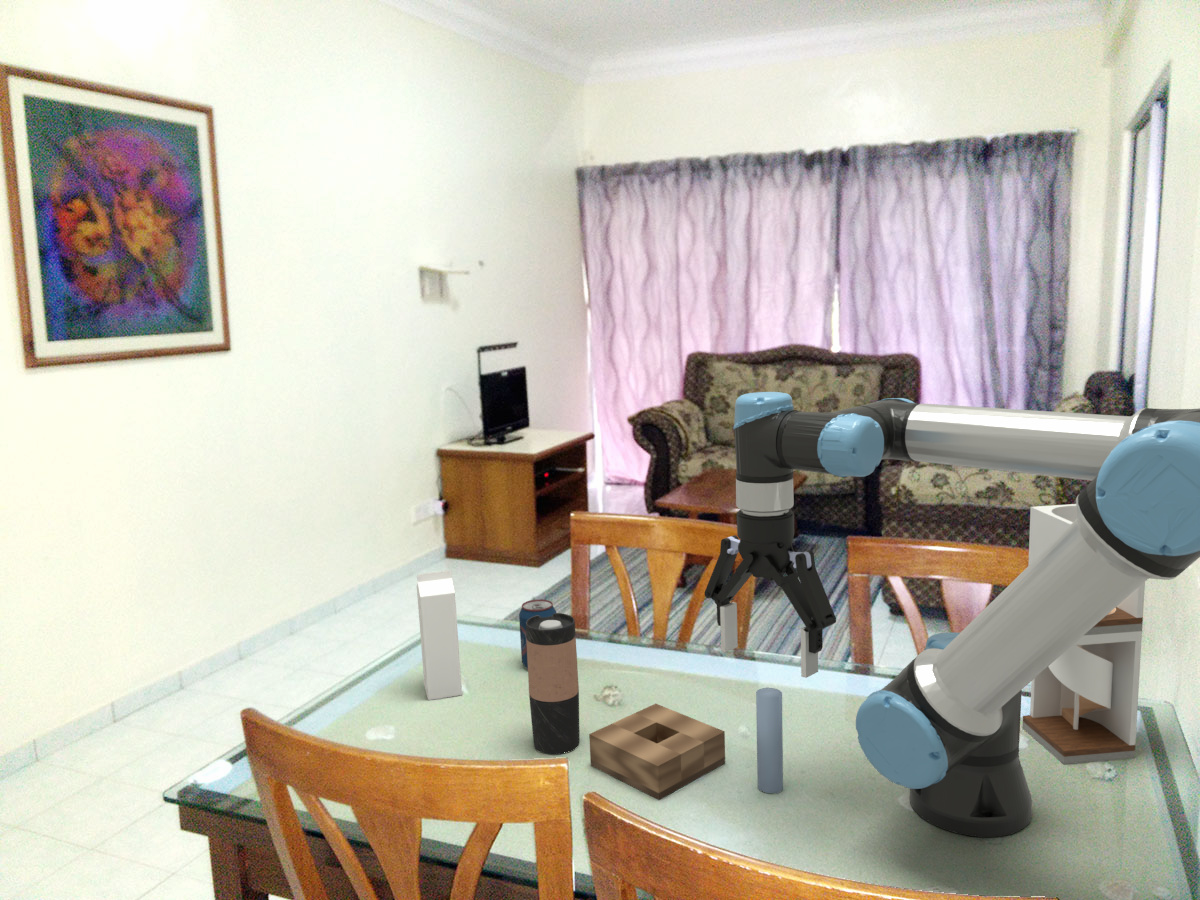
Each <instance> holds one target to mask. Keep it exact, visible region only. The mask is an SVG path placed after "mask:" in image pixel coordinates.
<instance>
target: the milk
mask: <svg viewBox="0 0 1200 900" xmlns="http://www.w3.org/2000/svg"><path fill="white" fill-rule="evenodd" d="M416 579H417V580H416V581H417V583H416V584H417V585H416V594H417V596H416V597H417V605H418V606H417V609H418V619H419V620H418V621H419V633H420V644H421V646H420V647H421V657H422V659H421V661H422V670H423V671H422V673H423V683H424V689H425V693H426V694H425V695H426V697H427V700H428V701H434V700H439V699H446V698H447V697H448V698H453V697H452V696H454V697H459V696H458V695H460V696H463V688H462V675H461V673H462V672H461V659H460V658H461V657H460V646H459V645H460V643H459V631H458V617H457V602H456V591H455V587H454V581H453V572H452V570H450V569H448V570H438V571H430V572H429V571H428V572H422V573H418V574H417V576H416Z"/></svg>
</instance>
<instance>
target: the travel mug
mask: <svg viewBox="0 0 1200 900" xmlns="http://www.w3.org/2000/svg"><path fill="white" fill-rule="evenodd" d="M575 621H576V620H575V618H574V617H573V616H571V615H570V614H566V613H561V612H556V613H554V614H553V615H552V616H549V617H540V616H539V615H536V616H533V617H531V618H529V619H528V620H527V622H526V639H527V661H528V669H527V677H528V682H527V683H528V697H529V707H530V708H529V710H530V718H531V730H532V740H533V747H534V749H535V750H536V751H537V752H539V753H541V754H545V755H563V754H567V753H569V752H568V751H570V752H572V751H574V750H575V748H576V747H577V746H579V745H580V688H579V687H580V686H579V672H578V671H579V670H578V669H579V668H578V655H577V654H578V653H577V651H578V650H577V638H576V622H575ZM577 748H578V747H577ZM577 748H576V749H577ZM573 749H574V750H573ZM571 750H572V751H571ZM564 752H565V753H564ZM566 752H567V753H566Z"/></svg>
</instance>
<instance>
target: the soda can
mask: <svg viewBox="0 0 1200 900" xmlns="http://www.w3.org/2000/svg"><path fill="white" fill-rule="evenodd" d="M554 613H557V610H556V608H555V607H554V603H553V601H551V600H548V599H531V600H527V601H525V602H523V603H522V604H521V609H520V611H519V613H518V617H519V635H520V636H519V637H520V651H521V653H520V656H521V663H522V664H523V665H524V667H525V669H527V670H528V661H527V639H526V622H527V620H528V619H529V618H531V617H533V616H536V615H539V616H540V617H549V616H552V615H553V614H554Z"/></svg>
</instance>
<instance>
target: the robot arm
mask: <svg viewBox="0 0 1200 900" xmlns="http://www.w3.org/2000/svg"><path fill="white" fill-rule="evenodd" d="M794 408H795V407H794V405H793V398H792V396H791V395H790V394H789V393H787V392H782V391H779V392H778V391H758V392H748V393H745V394H741V395H739V396H738V397H737V398H736V400H735V404H734V423H733V424H734V425H733V433H734V434H733V435H734V446H735V447H734V448H735V450H734V451H735V463H736V465H735V466H736V471H735V498H736V499H735V506H736V508H738V512H736V534H737V535H731V536H728V537H725V538H722V539H721V540H720V552H719V555H718V558H717V560H716V563H715V565H714V568H713V570H712V573H711V575H710V577H709V580H708V583H707V585H706V587H705V590H704V596H705V597H706V599H711V600H713V601H714V603H715V605H716V622H717V625H718V626H719V627H720V646H721V647H720V648H721V652H723V653H727V652H730V651H732V650H735V649H737V648H738V647H739V646H738V645H739V644H738V643H739V641H738V606H737V605H738V603H737V602H734V600H735V598H734V597H735V596H736V595H737V594H738V593H739V591H740V590H741V589H742V587H743V586H745V584H746V582H748V580H749V579H750V577H753V578H762V579H763V578H764V580H768V581H774V583H775V584H776V586H778V587H780V588H781V589H782V591H783V592H784V594H785V596H786V597H787V598H788V599H787V600H789V602H790V604H791V605H792V606H793V608H794V610H795V612H796V613H797V615H798V616H799V618H800V620H801V622H802V623H803V625H804V627H802V628H800V674H801V677H802V678H805V679H807V678H809V677H810V676H812V675H815V674H816V673H819V652H821V651H822V650H823V629H826V628H828V627H830V626H832V625H834V624H836V622H837V618H836V615H835V613H834V612H835V611H834V610H833V607H832V605H831V603H830V600H829V598H828V596H827V593H826V589H825V588H824V585H823V582H822V581H821V578H820V575H819V574H818V571H817V568H816V562H815V561H816V560H815V553H814V551H812V550H810V549H809V550H805V551H802V552H801V551H795V550H794V547H793V540H794V536H795V513H794V511H793V510H792V508H793V507H794V504H795V503H794V501H795V500H794V499H795V498H794V496H795V495H794V470H795V471H797V470H798V471H803V472H810V473H816V474H817V473H818V474H824V475H825V474H826V475H833V476H837V477H840V478H846V477H858V478H859V477H860V478H861V477H863V478H864V477H867V476H869V475H871V474H872V473H874V472H875V469H876V468H877V467H879V465H880V463H881V461H882V460H886V459H887V460H897V461H898V460H899V461H909V462H920V463H921V462H922V463H929V464H930V463H931V464H936V465H937V464H939V465H947V466H957V467H966V468H973V469H975V468H976V469H984V470H992V471H993V470H995V471H999V472H1000V471H1001V472H1002V471H1003V472H1012V473H1018V474H1019V473H1020V474H1028V475H1038V476H1045V477H1046V476H1048V477H1056V478H1063V479H1064V478H1065V479H1073V480H1083V481H1090V482H1089V483H1088V484H1087V486H1085V487H1084V488H1083V489H1082V491H1081V492H1079V494H1078V495H1077V496H1076V499H1075V504H1076V508H1077V515H1078V518H1077V519H1076V520H1075V521H1074V522H1073V523H1072V524H1071V525H1070V526H1069V527H1068V528H1067V529H1066V530H1065V531H1064V532H1063V533H1062V534H1061V535H1060V536H1059V537H1058V538H1057V539H1056V540H1055V541H1053V542H1052V543H1051V544H1050V545H1049V546H1048V547H1047V548H1046V549H1045V550H1044V551H1043V552H1042V553H1041V554H1040V555H1039V556H1038V557H1037V558H1036V559H1035V560H1034V561H1033V562H1032V563H1031V564H1030V565H1029V566H1027V567H1026V568H1025V569H1024V570H1022V572H1021V573H1020V574H1019V575H1018V576H1017V577H1015V579H1013V581H1011V583H1010V584H1009V585H1008V586H1007V587H1005V588H1004V589H1003V590H1002V591H1001V592H1000V593H999V594H998V595H997V596H996V597H995V598H994V599H993V600H992V601H991V602H990V603H989V604H988V605H987V606H986V607H985V608H984V609H983V610H982V611H981V612H980V613H979V614H978V615H977V616H976V617H974V619H973V620H972V621H971V622H970V623H969V624H968V625H967V626H965V628H964V629H962V630H961V631H960V632H954V631H953V632H941V633H940V632H939V633H936V634H932V635H930V636H928V638H927V639H926V642H925V647H924V648H923V649H924V650H922V651H921V652H920V653H918V655H916V657H915V658H914V659H912V660H911V661H910V662H909V663H908V664H907V665H906V666H905V667H904V668H903V669H902V670H901V671H900V672H899V673H898V674H897V676H895V677H894V678H893V679H892V680H891V681H890V682H889V683H888V684H887V685H885V686H884V687H883V688H882V689H880V690H876V691H874V692H872V693H870V694H869V695H868V696H867V698H866V699H865V700H864V701H863V702H862V703H861V704H860V706H859V707H858V710H857V713H856V716H855V730H856V732H857V740H858V744H859V745H860V748H861V750H862V753H863V754H864V756H865V758H866V759H867V761H868V762H869V763H870V764H871V766H872V767H873V768H874V769H875V770H876V771H877V772H878V773H879V774H880V775H881V776H883V777H884V778H885V779H887V780H888V781H889V782H891V783H893V784H894V785H895V784H896V785H897V786H898V785H899V786H902V787H904V788H906V789H909V802H910V805H911V808H912V809H913V810H914V812H915V813H916V814H917V815H918V816H920V817H921V818H922V819H923V820H925V821H926V822H928V823H930V824H932V825H934V826H936V827H938V828H940V829H943V830H946V831H949V832H951V833H955V834H959V835H963V836H970V837H978V838H980V837H981V838H993V837H994V838H995V837H996V838H997V837H1004V836H1008V835H1012V834H1016V833H1017V832H1020V831H1022V830H1023V829H1025V828H1026V827H1027V826H1028V825H1029V824H1030V822H1031V820H1032V815H1033V814H1032V812H1033V810H1032V804H1033V799H1032V795H1031V791H1030V788H1029V785H1028V782H1027V779H1026V775H1025V772H1024V770H1023V766H1022V764H1021V763H1022V762H1021V761H1020V737H1021V735H1020V734H1021V714H1022V712H1021V710H1022V690H1023V689H1024V688H1025V687H1027V686H1028V685H1029V684H1031V681H1032V680H1033V679H1034V678H1035V677H1036V676H1038V675H1039V674H1040V673H1041V672H1042V671H1043V670H1044V669H1046V668H1047V667H1048V666H1049V665H1050V664H1051V663H1052V662H1054V661H1055V660H1056V659H1057V658H1058V657H1059V656H1060V655H1062V654H1063V653H1064V652H1065V651H1066V650H1067V649H1068V648H1070V647H1071V646H1072V645H1073V644H1074V643H1075V642H1076V641H1078V640H1079V639H1080V638H1081V637H1082V636H1083V635H1084V634H1086V633H1087V632H1088V631H1089V630H1090V629H1091V628H1092V627H1094V626H1095V625H1096V624H1097V623H1098V622H1099V621H1100V620H1102V619H1103V618H1104V617H1105V616H1106V615H1107V614H1108V613H1110V612H1111V611H1112V610H1113V609H1114V608H1115V607H1116V606H1118V605H1119V604H1120V603H1121V602H1122V601H1123V600H1124V599H1126V598H1127V597H1128V596H1129V595H1130V594H1131V593H1133V592H1134V591H1135V590H1136V589H1137V588H1138V587H1139V586H1141V585H1142V584H1143V583H1144V582H1145V583H1146V581H1148V580H1149V579H1152V580H1162V581H1165V580H1166V581H1167V580H1168V581H1169V580H1173V579H1175V578H1177V577H1178V576H1179V575H1181V574H1182V573H1183V572H1184V571H1185V570H1186V569H1188V568H1189V567H1190V566H1191V565H1192V564H1194V563H1195V562H1196V561H1197V560H1198V559H1200V408H1199V407H1198V408H1173V409H1172V408H1171V409H1170V408H1149V407H1146V408H1145V407H1143V408H1140V409H1139V410H1138V411H1136V412H1135V413H1134V414H1133V415H1130V416H1127V415H1112V414H1111V415H1109V414H1098V413H1097V414H1095V413H1080V412H1066V411H1063V412H1062V411H1047V410H1033V409H1032V410H1031V409H1030V410H1029V409H1014V408H1000V407H999V408H998V407H985V406H971V405H970V406H969V405H968V406H967V405H950V404H949V405H948V404H935V403H933V404H932V403H917V402H916V403H915V402H914V401H912V400H910V399H908V398H903V397H897V398H896V397H895V398H894V397H892V398H889V397H888V398H883V399H881V400H877V401H875V402H869V403H866V404H865V403H864V404H862V405H858V406H853V407H848V408H844V409H839V410H834V411H830V412H829V411H827V412H819V411H818V412H815V411H801V410H797V409H796V410H795V409H794ZM738 554H739V555H740V556H741V559H742V560H741V562H740V563H739V565H738V566H737V567H736V568H735V569H734V570H735V572H734V573H733V574H732V576H731V577H730V578H729V576H730V573H731V571H732V569H733V566H734V564H735V562H736V560H737V557H738ZM792 563H793V564H792ZM785 574H786V575H785Z"/></svg>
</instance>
